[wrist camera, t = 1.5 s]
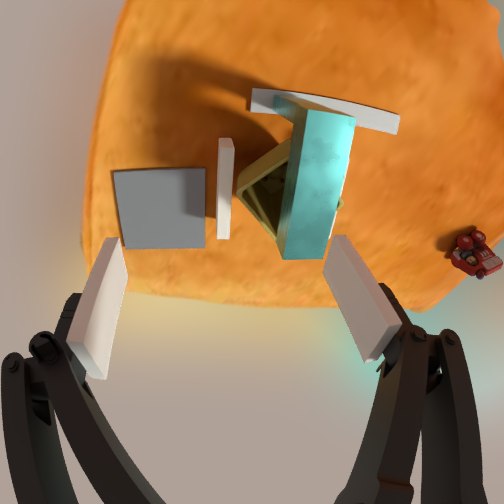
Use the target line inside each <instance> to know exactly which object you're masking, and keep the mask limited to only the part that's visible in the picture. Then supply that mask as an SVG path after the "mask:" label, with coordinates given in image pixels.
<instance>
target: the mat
mask: <svg viewBox="0 0 504 504" xmlns="http://www.w3.org/2000/svg"><path fill="white" fill-rule="evenodd" d="M205 171H206V168H164V169H141V170H125V171H115V172H114V182H115V189H116V197H117V204H118V210H119V216H120V222H121V228H122V233H123V239H124V244H125V249H180V248H205Z"/></svg>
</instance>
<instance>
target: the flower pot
mask: <svg viewBox="0 0 504 504" xmlns="http://www.w3.org/2000/svg"><path fill="white" fill-rule="evenodd" d="M290 146H291V139H289V140H286V141H284V142H282V143H280V144H279V145H278V146H276V147H275V148H273V149H272V150H270V151H269V152H268V153H266V154H265V155H263V156H262V157H260V158H259V159H257V160H256V161H255V162H253V163H252V164H250V165H249V166H247V167H246V168H244V169H243V170H242V171H241V172H240V173H239V175H238V178H237V191H236V195H237V197H238V198H239V200H240V201H241V202H242V203H243V204H244V205H245V206H246V208H247V209H248V210H249V211H250V212H251V213H252V214H253V216H254V217H255V218H256V219H257V220H258V221H259V222H260V224H261V225H262V226H263V227H264V228H265V230H266V231H267V232H268V233H269V234H270V236H271V237H272V238H273V239H274V241H275V242H276V238H277V232H278V225H279V219H280V213H281V206H282V200H283V193H284V187H285V180H286V173H287V167H288V160H289V153H290ZM285 162H287V166H284V165H283V163H285ZM264 176H267V179H266V180H264V179H263V177H264ZM281 178H283V179H284V181H283V182H280V179H281ZM343 205H344V203H343V201H342V199H341V197H340V196H339V200H338V204H337V208H336V211H337V210H339V209H340V208H341V207H342V206H343Z"/></svg>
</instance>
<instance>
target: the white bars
mask: <svg viewBox="0 0 504 504" xmlns="http://www.w3.org/2000/svg"><path fill="white" fill-rule="evenodd" d="M274 94H278V95H286V96H294V97H300V98H303V99H306V100H309V101H312V102H314V103H317V104H320V105H323V106H325V107H328V108H331V109H333V110H336V111H341V112H343V113H346V114H348V115H351V116H353V117H356V123H355V126H360V127H365V128H370V129H374V130H378V131H383V132H387V133H391V134H395V135H397V130H398V126H399V121H400V115H397V114H393V113H390V112H386V111H383V110H379V109H375V108H372V107H368V106H364V105H360V104H355V103H351V102H346V101H342V100H337V99H332V98H327V97H321V96H315V95H309V94H303V93H296V92H288V91H280V90H271V89H260V88H252V96H251V106H250V112H259V113H271V114H278V113H276V112H275V111H273V110H272V109H273V100H274ZM234 152H235V148H234V145H233V142H232V139H231V138H219V145H218V167H217V193H216V230H217V239H229V234H230V216H231V198H232V182H233V167H234ZM349 160H350V158H349V157H348V162H347V166H346V171H345V175H344V179H343V184H342V188H341V192H340V197H341V194H342V190H343V186H344V182H345V177H346V173H347V169H348V164H349ZM336 214H337V211H336V212H335V216H334V220H333V224H332V227H331V231H330V235H329V238H328V239H330V236H331V232H332V229H333V225H334V221H335V217H336Z"/></svg>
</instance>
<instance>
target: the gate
mask: <svg viewBox="0 0 504 504" xmlns="http://www.w3.org/2000/svg"><path fill="white" fill-rule="evenodd" d="M272 110H273V111H275V112H276V113H278V114H280V115H281V116H283V117H284V118H286V119H287V120H289V121H290V122H292V123H293V124H294V125H293V132H292V139H291V146H290V153H289V160H288V167H287V173H286V180H285V187H284V193H283V200H282V206H281V213H280V219H279V225H278V232H277V238H276V243H277V246H278V248H279V251H280V254H281V256H282V259H283V260H298V259H323V256H324V252H325V249H326V245H327V242H328V238H329V235H330V231H331V227H332V224H333V220H334V216H335V212H336V208H337V204H338V200H339V196H340V192H341V188H342V184H343V179H344V175H345V171H346V166H347V162H348V157H349V153H350V148H351V143H352V138H353V133H354V128H355V123H356V117H353V116H351V115H348V114H346V113H343V112H341V111H336V110H333V109H331V108H328V107H325V106H323V105H320V104H317V103H314V102H312V101H309V100H306V99H303V98H300V97H294V96H286V95H278V94H274V100H273V109H272Z"/></svg>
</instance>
